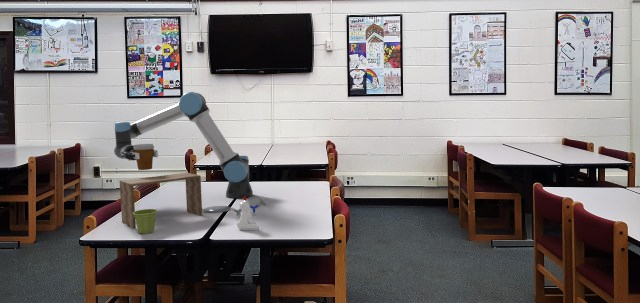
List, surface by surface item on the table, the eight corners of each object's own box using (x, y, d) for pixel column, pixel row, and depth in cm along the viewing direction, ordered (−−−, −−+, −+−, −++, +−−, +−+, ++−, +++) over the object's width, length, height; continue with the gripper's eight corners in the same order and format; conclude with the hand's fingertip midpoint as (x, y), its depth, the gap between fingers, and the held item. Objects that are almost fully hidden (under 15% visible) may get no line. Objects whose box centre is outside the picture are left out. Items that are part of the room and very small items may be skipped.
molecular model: (267, 213, 220) (264, 192, 221) (271, 213, 212) (268, 191, 213) (231, 220, 214) (227, 199, 214) (233, 220, 206) (230, 198, 207)
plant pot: (136, 236, 183) (135, 215, 182) (131, 231, 191) (130, 210, 190) (160, 232, 188) (159, 212, 187) (155, 227, 196) (154, 207, 195)
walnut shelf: (122, 222, 206) (119, 180, 204) (188, 210, 227) (187, 172, 226) (133, 228, 196) (130, 184, 194) (202, 215, 217) (200, 175, 215)
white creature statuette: (260, 230, 189) (259, 201, 188) (239, 232, 186) (238, 203, 185) (255, 225, 198) (254, 197, 196) (235, 227, 195) (234, 199, 194)
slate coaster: (231, 205, 237) (231, 205, 237) (231, 211, 224) (231, 211, 224) (203, 207, 235) (203, 206, 235) (201, 213, 221) (201, 213, 221)
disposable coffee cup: (148, 170, 217) (147, 145, 216) (130, 170, 219) (128, 145, 218) (159, 167, 227) (158, 143, 226) (142, 167, 229) (140, 143, 227)
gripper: (151, 158, 243) (169, 161, 226) (109, 162, 229) (125, 165, 212) (150, 143, 242) (168, 145, 225) (108, 147, 228) (124, 149, 211)
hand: (148, 155), depth 219 cm, fingers closed on disposable coffee cup, 8 cm apart
